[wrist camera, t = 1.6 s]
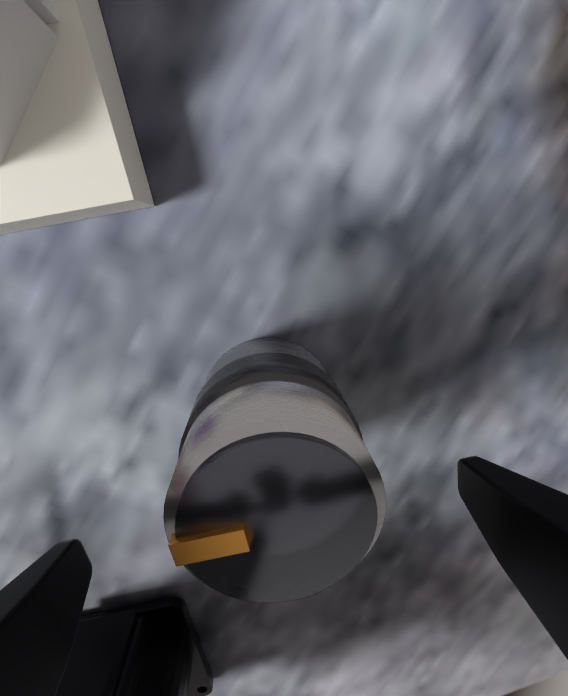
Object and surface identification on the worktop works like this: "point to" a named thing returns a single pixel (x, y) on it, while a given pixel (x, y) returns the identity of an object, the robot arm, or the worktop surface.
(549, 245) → the worktop surface
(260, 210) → the worktop surface
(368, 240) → the worktop surface
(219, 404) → the lens
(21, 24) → the mount block
